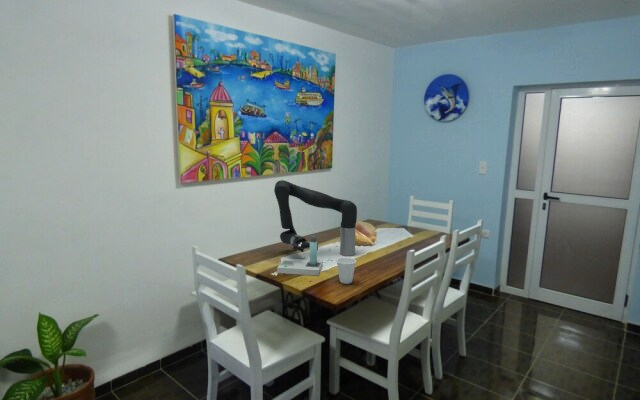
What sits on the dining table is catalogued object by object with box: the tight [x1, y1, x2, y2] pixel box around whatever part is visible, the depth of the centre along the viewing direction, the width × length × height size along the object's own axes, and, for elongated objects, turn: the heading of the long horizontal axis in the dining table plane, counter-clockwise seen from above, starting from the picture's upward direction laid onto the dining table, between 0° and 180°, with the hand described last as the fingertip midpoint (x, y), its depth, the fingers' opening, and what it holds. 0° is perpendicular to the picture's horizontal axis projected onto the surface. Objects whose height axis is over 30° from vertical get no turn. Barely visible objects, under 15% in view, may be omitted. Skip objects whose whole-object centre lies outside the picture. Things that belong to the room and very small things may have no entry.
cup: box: [336, 257, 357, 285], centre depth 186 cm, size 10×10×11 cm
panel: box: [276, 258, 324, 277], centre depth 205 cm, size 16×22×4 cm
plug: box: [309, 234, 318, 266], centre depth 202 cm, size 4×4×19 cm
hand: (310, 249), depth 206 cm, fingers open, 8 cm apart
